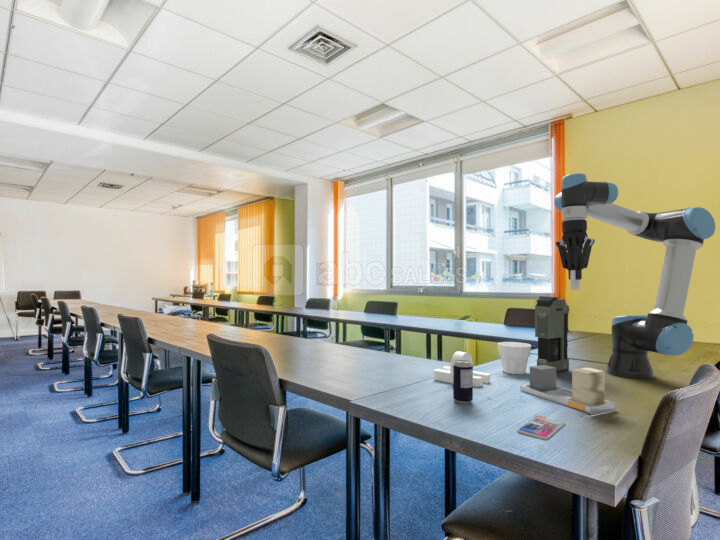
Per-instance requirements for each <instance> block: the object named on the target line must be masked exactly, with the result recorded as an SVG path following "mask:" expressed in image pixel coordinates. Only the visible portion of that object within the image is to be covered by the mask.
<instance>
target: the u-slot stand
mask: <svg viewBox="0 0 720 540" xmlns="http://www.w3.org/2000/svg"><path fill="white" fill-rule="evenodd" d="M456 360H467V361H471V362H472V363H471V364H472V366H473V365H474V364H473V363H474V362H473V358H472V355H471V353H469V352H464V351H460V350H459V351H458V350H457V351H455V352H454V353H453V355H452V357H451V359H450V366H447V365H445V366H443V367H442V368H435V369H434V370H433V379H434V380H435V381H439V382H444V383H449V384H453V365H454V363H455V361H456ZM490 383H491V374H490V373H487V372H482V371H475V370H473V387H476V388H479V387H480V388H481V387H482V386H483V385H484V384H490Z"/></svg>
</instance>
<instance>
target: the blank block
mask: <svg viewBox="0 0 720 540" xmlns="http://www.w3.org/2000/svg"><path fill="white" fill-rule="evenodd" d="M529 384H530V388H532V389H536V390H539V391H548V390H555V389H556V386H557V374H556V368H555V367H551V366H547V365H539V366H537V365H533V366H529Z"/></svg>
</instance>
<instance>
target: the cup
mask: <svg viewBox="0 0 720 540" xmlns="http://www.w3.org/2000/svg"><path fill="white" fill-rule="evenodd" d="M497 348H498V354H499V356H500V359H501V366H502V372H503V371H504V372H503V373H505V372H506V373H505V374H508V373H510V374H509V375H515V374H522V375H525V374H526V373H527V367H528V362H529V358H530V356H531V351H532V350H531V349H532V345H531V344H530V343H525V342H520V341H519V342H518V341H502V342H501V341H500V342H498V343H497Z"/></svg>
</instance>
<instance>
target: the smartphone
mask: <svg viewBox="0 0 720 540" xmlns="http://www.w3.org/2000/svg"><path fill="white" fill-rule="evenodd" d="M547 418H548V417H547V416H543V415H535V417H533V418H531V419H530V420H528V421H527V422H525V423H524V424H523V425H521V426H520V427H519V428H517V429H516V432H517V434H521V435H523V434H524V436H528V437H532V438H536V439H538V440H541V441H542V440H544V441H548V440H550V439H552V437H554V436H555V434H556V433H558V432H559V431H560V430H561V429H562V428H563V427H565V425H566V423H565V421H563V420H560V419H559V420H558V419H557V420H554V421H552V420H550V419H547Z"/></svg>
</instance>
